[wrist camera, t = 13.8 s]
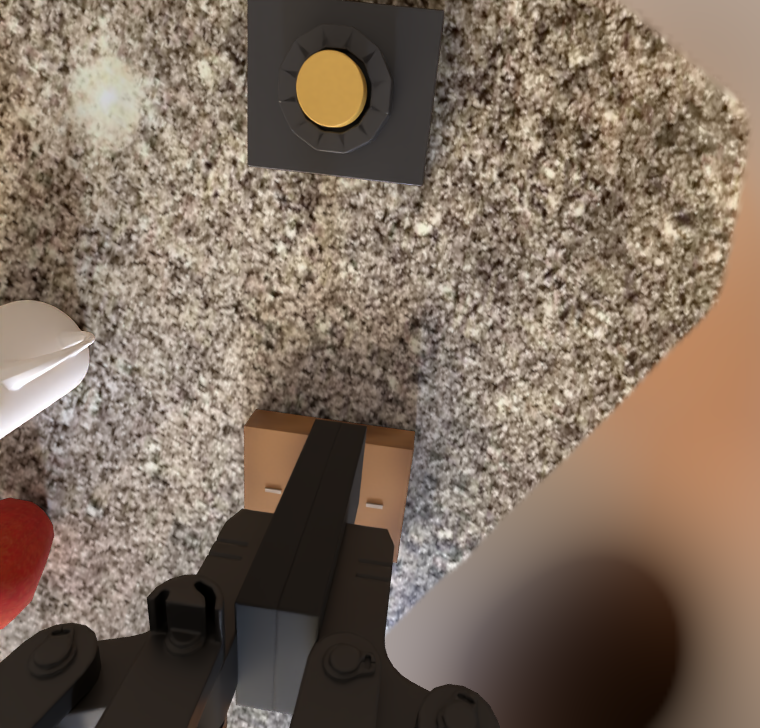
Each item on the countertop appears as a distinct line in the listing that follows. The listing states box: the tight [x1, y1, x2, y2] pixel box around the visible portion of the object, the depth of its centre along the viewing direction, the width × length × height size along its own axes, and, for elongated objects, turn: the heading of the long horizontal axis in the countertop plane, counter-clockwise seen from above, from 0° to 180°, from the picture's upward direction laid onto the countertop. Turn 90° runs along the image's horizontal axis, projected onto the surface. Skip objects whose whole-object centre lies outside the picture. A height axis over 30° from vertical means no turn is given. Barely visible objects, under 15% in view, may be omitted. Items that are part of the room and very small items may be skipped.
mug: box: [0, 300, 95, 439], centre depth 40 cm, size 9×12×11 cm
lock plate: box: [244, 409, 415, 563], centre depth 46 cm, size 14×12×3 cm
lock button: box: [296, 50, 367, 127], centre depth 31 cm, size 4×4×2 cm
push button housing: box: [248, 0, 444, 186], centre depth 34 cm, size 12×10×4 cm
